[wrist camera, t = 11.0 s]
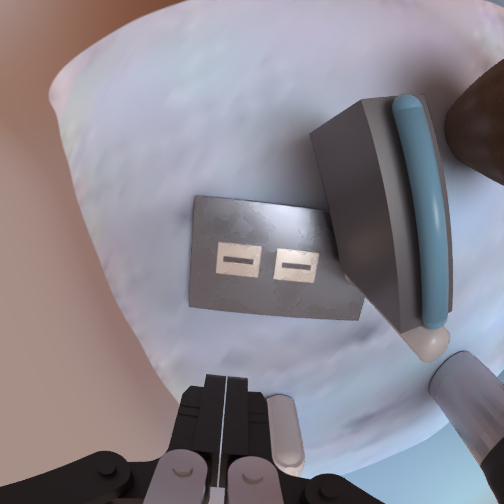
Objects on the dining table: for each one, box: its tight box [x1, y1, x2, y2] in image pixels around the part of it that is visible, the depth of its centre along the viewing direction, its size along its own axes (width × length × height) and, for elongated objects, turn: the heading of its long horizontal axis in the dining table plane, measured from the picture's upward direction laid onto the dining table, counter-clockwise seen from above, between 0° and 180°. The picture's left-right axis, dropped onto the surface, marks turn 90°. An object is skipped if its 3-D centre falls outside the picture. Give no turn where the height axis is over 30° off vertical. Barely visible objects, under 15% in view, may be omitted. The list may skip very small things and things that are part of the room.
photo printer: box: [266, 395, 305, 477], centre depth 28 cm, size 10×4×12 cm, turn 169°
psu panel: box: [189, 196, 365, 321], centre depth 28 cm, size 18×11×2 cm, turn 84°
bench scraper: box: [309, 94, 453, 362], centre depth 18 cm, size 15×4×14 cm, turn 16°
